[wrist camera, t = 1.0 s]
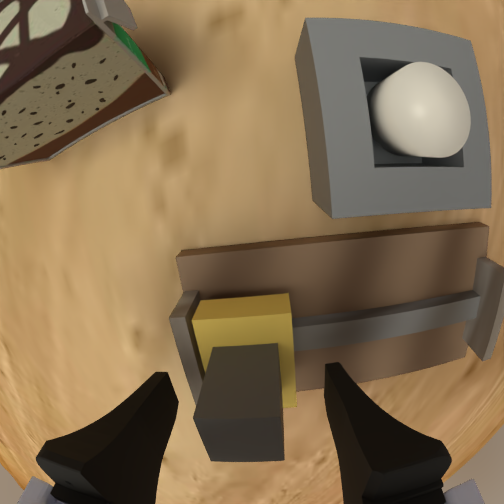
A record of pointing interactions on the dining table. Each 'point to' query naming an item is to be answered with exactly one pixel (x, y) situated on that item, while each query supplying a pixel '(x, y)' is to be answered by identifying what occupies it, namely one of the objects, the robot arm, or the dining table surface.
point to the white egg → (419, 112)
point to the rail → (357, 298)
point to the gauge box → (358, 122)
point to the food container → (67, 74)
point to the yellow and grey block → (245, 376)
